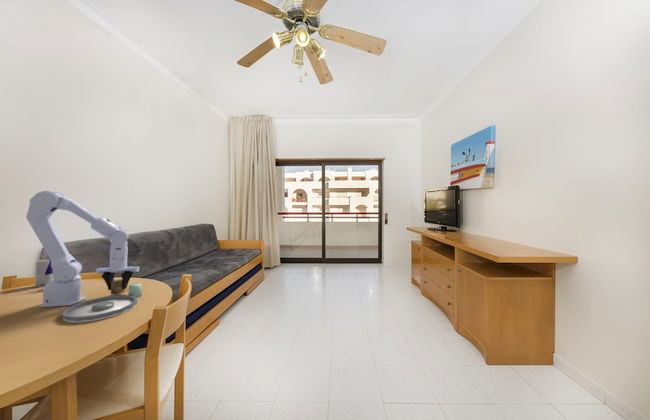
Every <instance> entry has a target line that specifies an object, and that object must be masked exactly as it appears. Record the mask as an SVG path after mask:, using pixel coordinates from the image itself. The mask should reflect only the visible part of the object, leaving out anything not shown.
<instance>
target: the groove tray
mask: <svg viewBox="0 0 650 420" xmlns="http://www.w3.org/2000/svg"><path fill="white" fill-rule="evenodd" d="M137 305H138V298H137V297H135V296H132V295H129V294H115V295H109V296H103V297H102V296H101V297H97V298H94V299H89V300H85V301H82V302H78V303H75V304H74V305H70V307H68V308H66V309H64V311H63V312H62V314H61V315H62V316H61V318H62V320H63V321H64V322H66V323H73V324H74V323H76V324H77V323H78V324H80V323H88V322H95V321H100V320H106V319H109V318H112V317H115V316H119V315H122V314H124V313H127V312H129V311H130V310H132V309H134V308H135V307H136V306H137Z"/></svg>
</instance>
